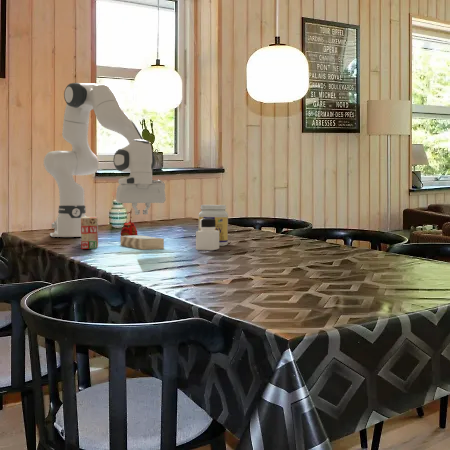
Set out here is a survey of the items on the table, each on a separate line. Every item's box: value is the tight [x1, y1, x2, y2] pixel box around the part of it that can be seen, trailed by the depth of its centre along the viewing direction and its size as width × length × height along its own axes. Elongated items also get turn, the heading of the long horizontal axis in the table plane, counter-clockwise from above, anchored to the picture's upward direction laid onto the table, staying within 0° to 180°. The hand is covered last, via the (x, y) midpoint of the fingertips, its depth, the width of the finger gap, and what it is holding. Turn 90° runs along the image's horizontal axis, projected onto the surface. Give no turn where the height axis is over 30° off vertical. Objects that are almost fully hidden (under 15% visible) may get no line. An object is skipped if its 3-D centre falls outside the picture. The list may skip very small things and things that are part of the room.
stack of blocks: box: [80, 216, 99, 250], centre depth 265 cm, size 21×6×12 cm, turn 10°
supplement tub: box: [198, 204, 229, 247], centre depth 268 cm, size 12×12×17 cm
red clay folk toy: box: [120, 207, 138, 237], centre depth 284 cm, size 8×7×15 cm
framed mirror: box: [120, 234, 165, 251], centre depth 262 cm, size 23×9×4 cm, turn 30°
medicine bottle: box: [195, 218, 220, 251], centre depth 251 cm, size 7×7×12 cm
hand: (141, 214), depth 262 cm, fingers closed
